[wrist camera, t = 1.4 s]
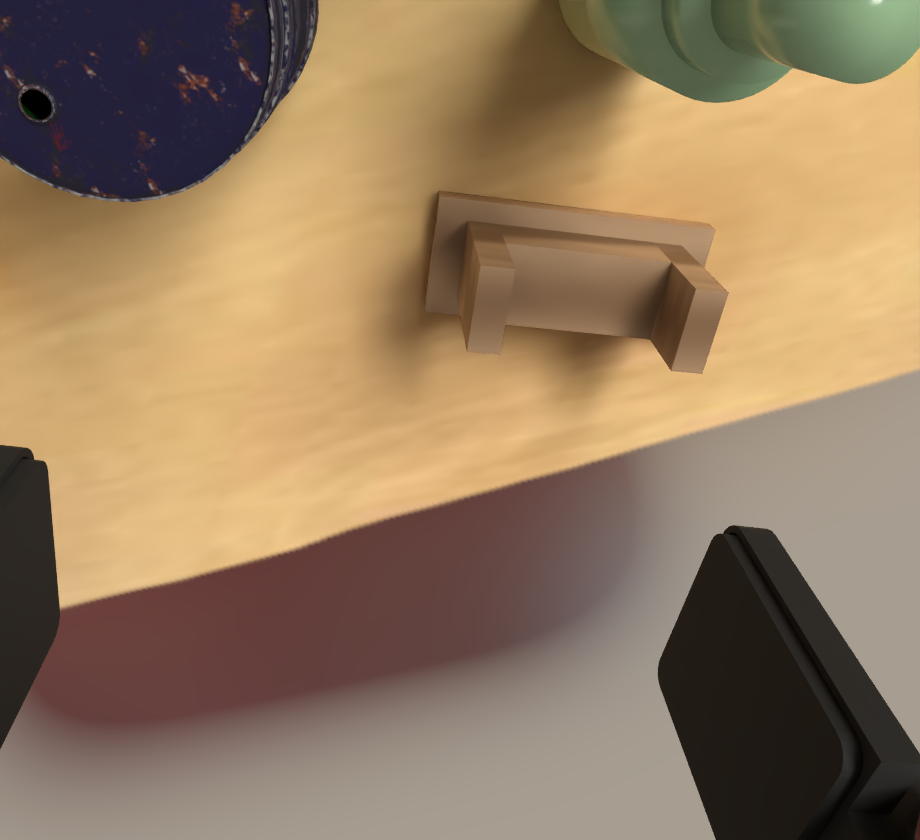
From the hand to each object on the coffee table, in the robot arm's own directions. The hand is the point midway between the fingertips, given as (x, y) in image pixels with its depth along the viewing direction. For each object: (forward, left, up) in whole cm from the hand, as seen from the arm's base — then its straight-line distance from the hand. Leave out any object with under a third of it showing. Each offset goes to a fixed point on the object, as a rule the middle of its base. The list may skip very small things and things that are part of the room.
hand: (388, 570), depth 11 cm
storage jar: (-5, -8, -31) cm, 32 cm away
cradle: (+5, +10, -31) cm, 32 cm away
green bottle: (-8, +10, -31) cm, 33 cm away
